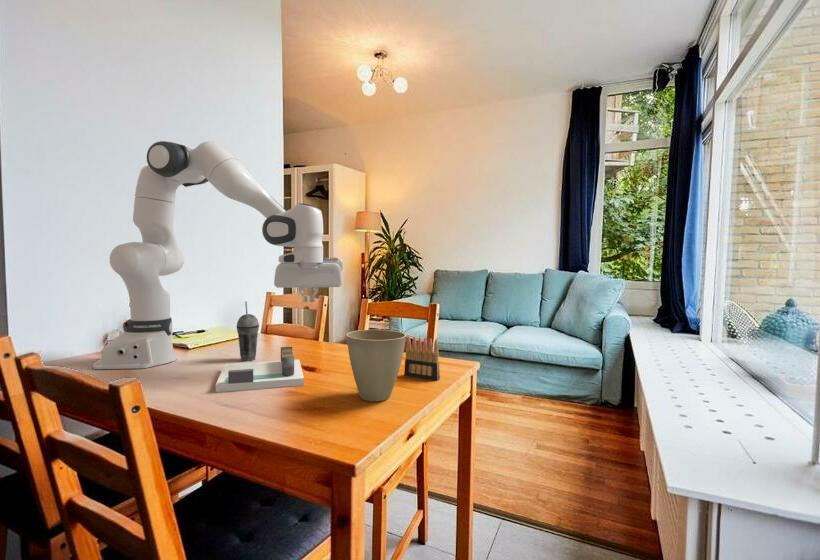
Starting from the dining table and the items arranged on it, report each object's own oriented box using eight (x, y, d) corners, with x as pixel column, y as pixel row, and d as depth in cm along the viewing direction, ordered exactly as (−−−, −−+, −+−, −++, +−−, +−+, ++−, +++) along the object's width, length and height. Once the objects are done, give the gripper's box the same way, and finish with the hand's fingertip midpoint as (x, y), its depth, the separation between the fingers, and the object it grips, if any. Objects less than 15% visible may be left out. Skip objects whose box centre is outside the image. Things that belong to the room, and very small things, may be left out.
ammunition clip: (439, 379, 122) (440, 338, 121) (437, 381, 120) (437, 339, 119) (406, 374, 126) (407, 335, 126) (404, 376, 125) (404, 336, 124)
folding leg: (294, 375, 116) (294, 358, 115) (281, 375, 114) (281, 359, 114) (292, 359, 133) (291, 345, 132) (280, 360, 132) (280, 346, 131)
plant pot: (382, 411, 95) (383, 342, 94) (333, 399, 103) (333, 335, 102) (416, 394, 108) (417, 332, 107) (370, 384, 116) (370, 327, 115)
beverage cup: (263, 357, 145) (263, 300, 144) (253, 363, 137) (253, 302, 136) (243, 357, 145) (242, 299, 144) (232, 362, 138) (231, 302, 137)
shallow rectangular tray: (215, 392, 107) (215, 373, 107) (225, 370, 128) (224, 354, 128) (304, 385, 114) (304, 367, 114) (299, 365, 135) (299, 350, 135)
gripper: (340, 257, 135) (340, 300, 135) (274, 256, 128) (274, 301, 129) (344, 257, 129) (343, 302, 129) (274, 256, 122) (274, 303, 123)
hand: (308, 302), depth 129 cm, fingers closed
